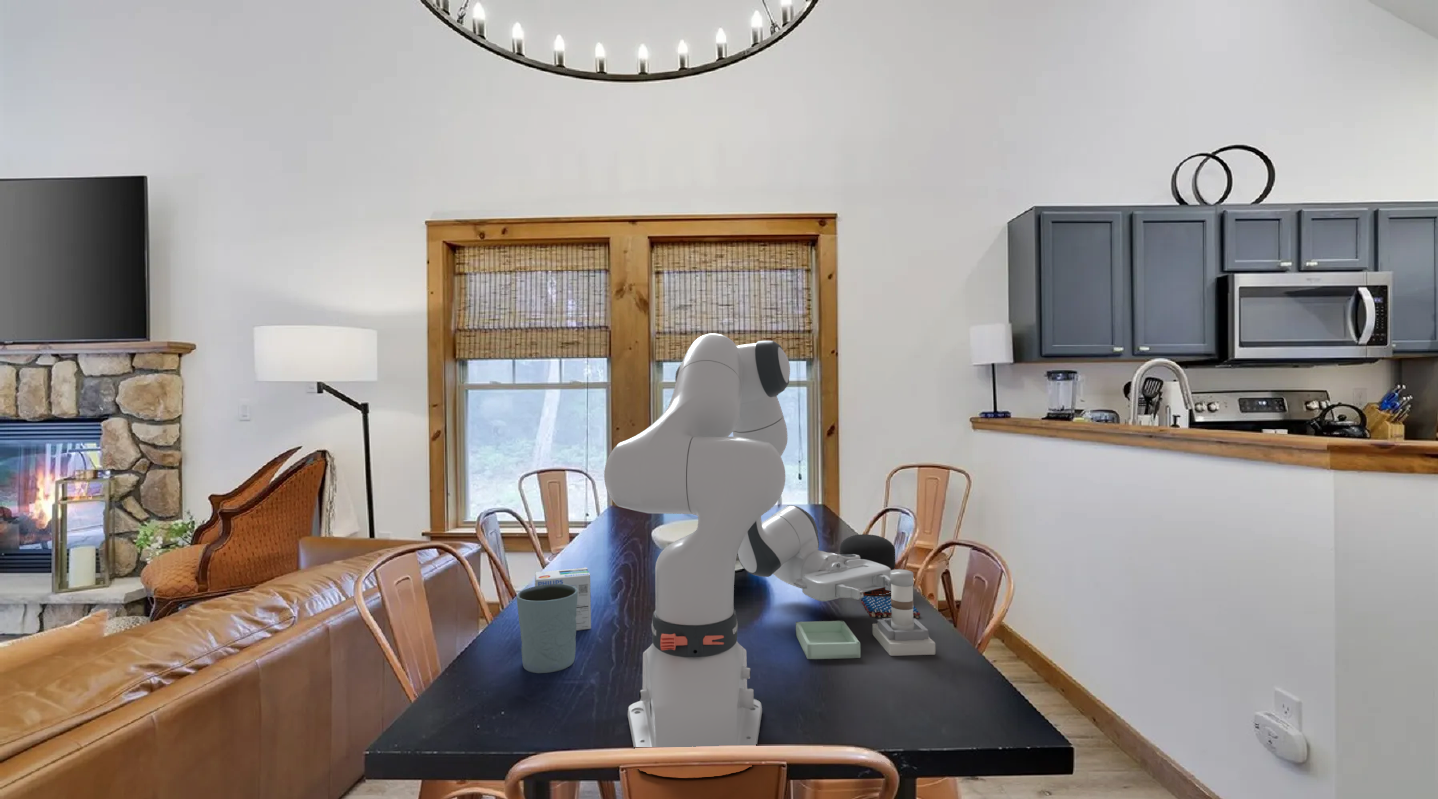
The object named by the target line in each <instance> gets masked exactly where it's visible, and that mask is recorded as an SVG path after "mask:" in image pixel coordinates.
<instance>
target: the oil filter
mask: <svg viewBox="0 0 1438 799" xmlns="http://www.w3.org/2000/svg"><path fill="white" fill-rule="evenodd" d="M839 554H840V555H841V554H855V555H859V556H860V559H865V560H870V561H873V562H876V563H879V564H882V565H885V566H887V567H889V568H890V569H891V570H896V568H895V566H896V548H895V545H894V544H893V543H892V542H891V541H889V540H888V539H887V538H886V537H882V536H880V535H876V534H868V533H865V534H862V533H861V534H860V533H859V534H855V535H850V536H847V537H846V538H844V539H843V540H842V542H841V543H840V545H839ZM889 592H891V591H889V590H885V587H883V588H879V589H875V590H871V591H867V592H864V593H863V594H864V596H867V595H879V594H886V593H889Z"/></svg>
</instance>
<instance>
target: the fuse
mask: <svg viewBox="0 0 1438 799" xmlns="http://www.w3.org/2000/svg"><path fill="white" fill-rule="evenodd" d="M890 576H891V594H890V595H891V596H890V597H891V612H890V613H891V614H892V615H891V616H892V617H891V618H892V620H891V628H892V629H893V630H914V622H913V618H914V616H913V606H914V572H913V571H911V570H908V569H901V568H899V569H897V568H896V569H895V570H891V571H890Z"/></svg>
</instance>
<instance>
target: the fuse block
mask: <svg viewBox="0 0 1438 799" xmlns="http://www.w3.org/2000/svg"><path fill="white" fill-rule="evenodd" d="M891 620H892V617H883V618H879V619H878V618H877V623H872V635H873V637H874V638H875V639H876V640H877V642H878V643H879V644H880V646H881V647H882V648H883V650H885V652H887V654H888V655H889V656H892V657H893V656H923V655H924V656H926V655H927V656H928V655H932V656H933V655H936V642H935V641H934V640H933V639H931V637H930V635H929V632H930V631H929V629H928V628H927V627H926V626H924V625H923V624H922V623H921V622H920V621H919V620H918V618H916V617H915V618H914V617H913V622H914V630H893V629H892V628H891Z"/></svg>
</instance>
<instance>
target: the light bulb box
mask: <svg viewBox="0 0 1438 799" xmlns="http://www.w3.org/2000/svg"><path fill="white" fill-rule="evenodd" d="M548 584H567V585H571V586H574V587H576V588H577V589H578V598H577V608H576V613H577V616H576V631H583V630H591V629H592V608H591V605H592V604H591V602H592V600H591V598H592V597H591V573H590V571H589V570H588V567H577V568H570V569H569V568H567V569H559V570H558V569H557V570H547V571H535V573H534V587H535V586H540V585H548Z"/></svg>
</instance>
